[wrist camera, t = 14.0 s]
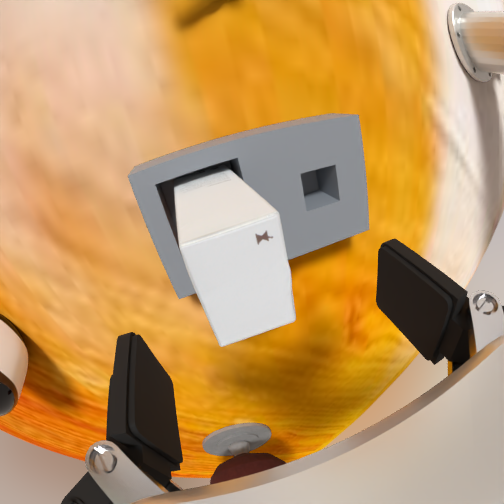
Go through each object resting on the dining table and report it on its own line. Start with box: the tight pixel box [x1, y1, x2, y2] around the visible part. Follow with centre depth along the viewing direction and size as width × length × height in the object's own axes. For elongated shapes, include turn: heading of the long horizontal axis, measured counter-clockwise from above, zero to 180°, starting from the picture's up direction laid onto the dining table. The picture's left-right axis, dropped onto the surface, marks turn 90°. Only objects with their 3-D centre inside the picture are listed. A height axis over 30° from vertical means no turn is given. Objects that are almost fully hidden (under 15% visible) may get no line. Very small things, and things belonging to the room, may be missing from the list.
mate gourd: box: [203, 423, 286, 485], centre depth 33 cm, size 16×14×20 cm
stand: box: [128, 114, 369, 299], centre depth 22 cm, size 17×10×4 cm, turn 103°
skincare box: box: [174, 165, 296, 347], centre depth 17 cm, size 6×4×12 cm
